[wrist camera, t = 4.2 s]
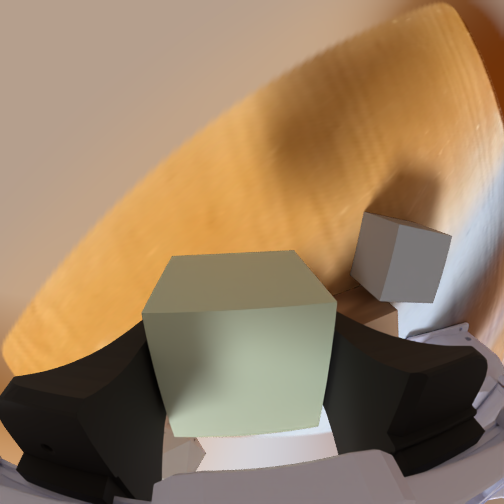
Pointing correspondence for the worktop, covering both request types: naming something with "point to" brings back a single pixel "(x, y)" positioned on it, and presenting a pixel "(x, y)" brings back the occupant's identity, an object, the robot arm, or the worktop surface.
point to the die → (180, 453)
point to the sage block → (240, 343)
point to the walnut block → (368, 310)
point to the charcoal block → (399, 259)
